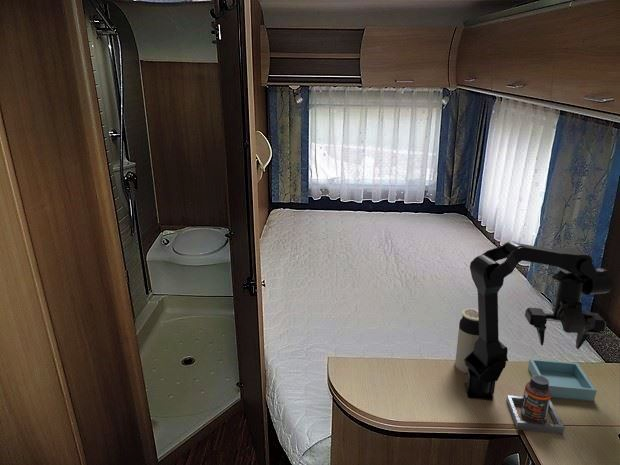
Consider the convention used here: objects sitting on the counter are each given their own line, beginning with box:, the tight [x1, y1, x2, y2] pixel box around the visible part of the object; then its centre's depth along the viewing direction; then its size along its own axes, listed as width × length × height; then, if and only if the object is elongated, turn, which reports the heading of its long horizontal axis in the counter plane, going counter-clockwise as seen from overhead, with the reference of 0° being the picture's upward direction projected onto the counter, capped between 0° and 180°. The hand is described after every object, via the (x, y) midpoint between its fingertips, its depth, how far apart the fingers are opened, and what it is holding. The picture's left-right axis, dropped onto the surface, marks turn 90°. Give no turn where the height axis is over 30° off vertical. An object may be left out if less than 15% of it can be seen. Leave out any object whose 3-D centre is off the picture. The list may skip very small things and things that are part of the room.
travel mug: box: [454, 307, 479, 374], centre depth 132 cm, size 8×8×18 cm
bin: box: [527, 358, 597, 403], centre depth 126 cm, size 13×13×4 cm
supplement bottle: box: [520, 375, 552, 423], centre depth 112 cm, size 6×6×11 cm
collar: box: [505, 394, 565, 435], centre depth 114 cm, size 11×11×2 cm
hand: (559, 346), depth 124 cm, fingers open, 9 cm apart
